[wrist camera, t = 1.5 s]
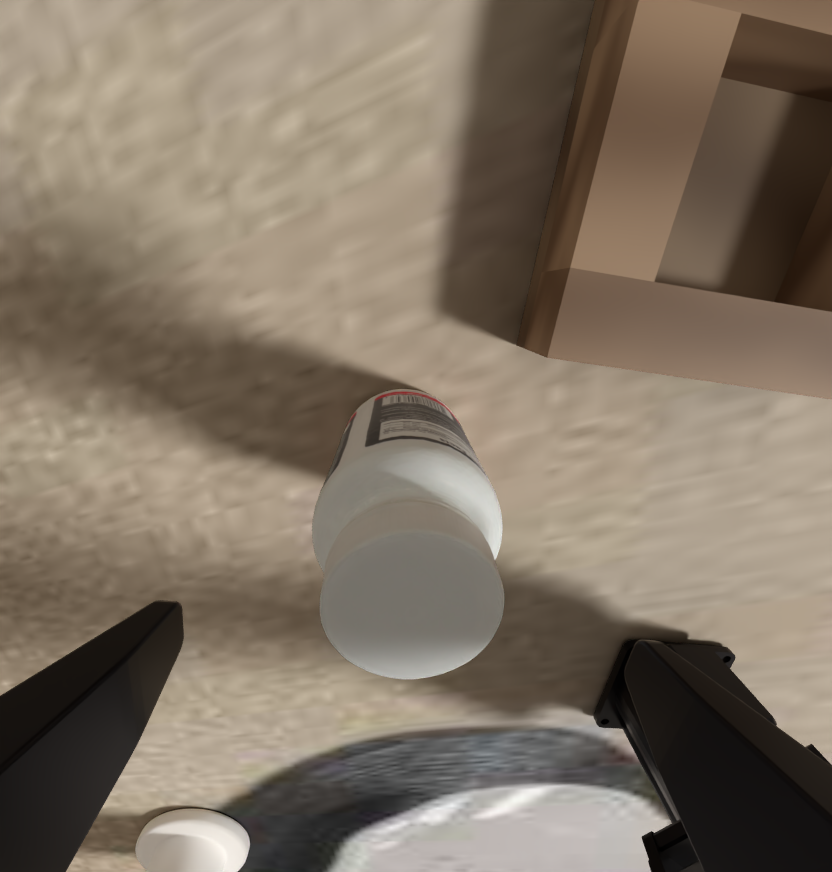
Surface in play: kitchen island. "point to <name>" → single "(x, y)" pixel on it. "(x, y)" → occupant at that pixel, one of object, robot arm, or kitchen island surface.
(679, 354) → the socket block
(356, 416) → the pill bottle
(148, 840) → the candle
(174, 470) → the kitchen island surface
